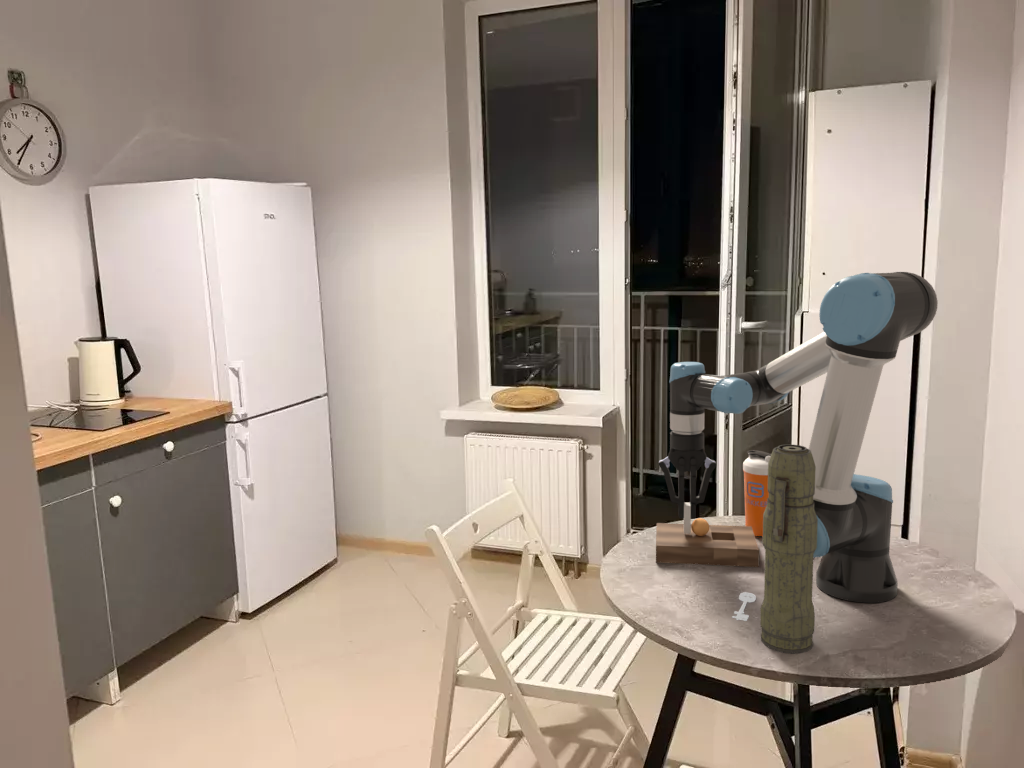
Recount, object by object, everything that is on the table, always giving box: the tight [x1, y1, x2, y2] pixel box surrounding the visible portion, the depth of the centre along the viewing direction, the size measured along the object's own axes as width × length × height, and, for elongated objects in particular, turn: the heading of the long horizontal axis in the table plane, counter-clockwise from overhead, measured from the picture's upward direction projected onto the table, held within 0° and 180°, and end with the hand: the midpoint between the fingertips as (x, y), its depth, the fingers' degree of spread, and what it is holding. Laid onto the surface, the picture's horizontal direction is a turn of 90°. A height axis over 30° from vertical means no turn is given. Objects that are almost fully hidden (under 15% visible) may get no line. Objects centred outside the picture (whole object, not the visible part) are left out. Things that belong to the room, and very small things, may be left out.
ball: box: [691, 517, 710, 536], centre depth 180 cm, size 4×4×4 cm
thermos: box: [759, 444, 818, 654], centre depth 135 cm, size 9×12×35 cm
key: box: [731, 591, 757, 622], centre depth 152 cm, size 12×1×3 cm
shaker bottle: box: [742, 449, 772, 538], centre depth 191 cm, size 9×9×20 cm
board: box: [655, 522, 760, 568], centre depth 180 cm, size 15×22×4 cm
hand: (687, 531), depth 180 cm, fingers closed
